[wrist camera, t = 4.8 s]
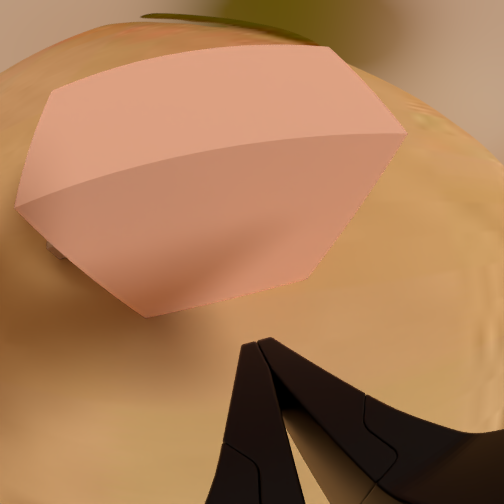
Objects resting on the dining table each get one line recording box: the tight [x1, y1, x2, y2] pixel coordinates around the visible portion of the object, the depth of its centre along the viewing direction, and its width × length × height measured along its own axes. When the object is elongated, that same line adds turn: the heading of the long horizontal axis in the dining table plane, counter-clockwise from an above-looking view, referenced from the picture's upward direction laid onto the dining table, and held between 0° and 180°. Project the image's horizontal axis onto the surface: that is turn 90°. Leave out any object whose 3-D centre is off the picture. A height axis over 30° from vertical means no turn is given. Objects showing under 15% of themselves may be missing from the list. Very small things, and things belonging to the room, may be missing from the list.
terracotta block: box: [14, 45, 408, 318], centre depth 12 cm, size 10×5×12 cm, turn 106°
